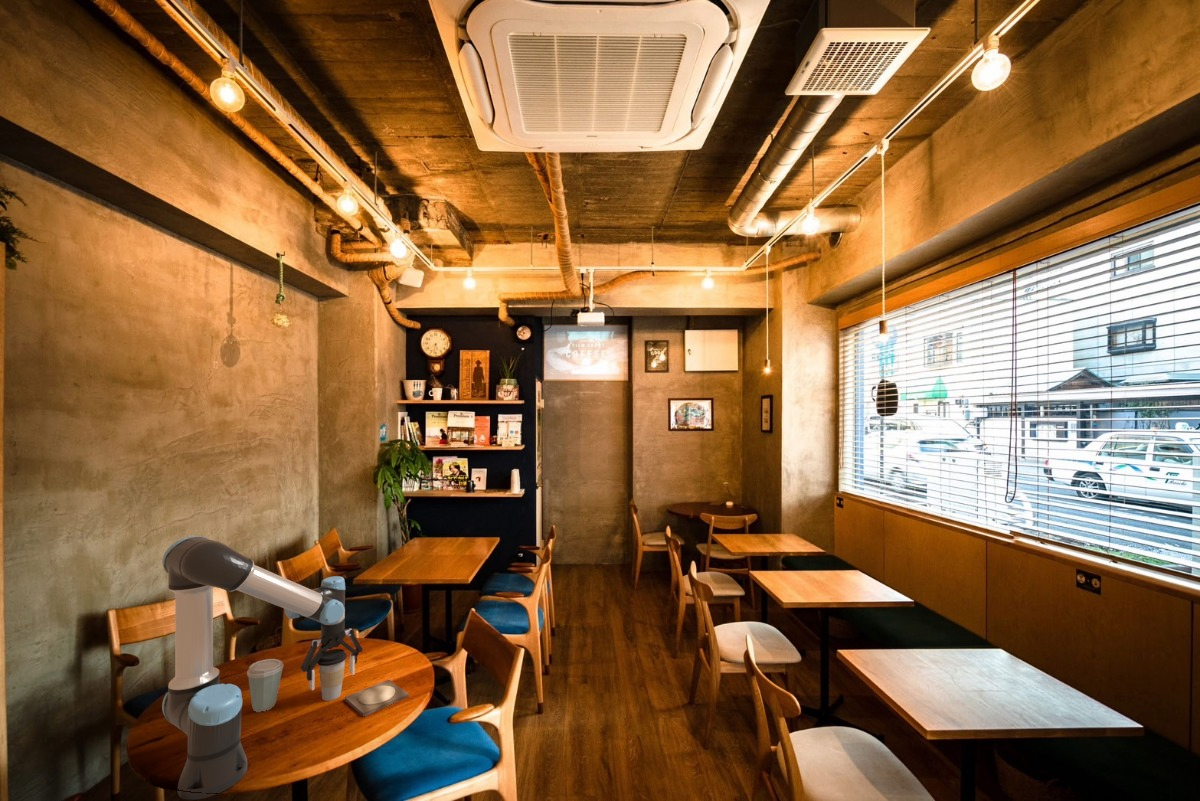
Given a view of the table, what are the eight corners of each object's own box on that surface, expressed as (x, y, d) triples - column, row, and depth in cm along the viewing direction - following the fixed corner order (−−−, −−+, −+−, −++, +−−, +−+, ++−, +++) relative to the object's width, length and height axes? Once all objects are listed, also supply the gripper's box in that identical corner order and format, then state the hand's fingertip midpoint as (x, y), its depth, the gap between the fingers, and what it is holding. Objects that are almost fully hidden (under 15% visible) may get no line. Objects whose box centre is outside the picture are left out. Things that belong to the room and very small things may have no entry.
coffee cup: (333, 705, 173) (334, 661, 174) (310, 702, 175) (311, 658, 176) (351, 690, 182) (352, 649, 183) (329, 688, 184) (330, 646, 185)
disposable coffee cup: (273, 695, 179) (274, 653, 180) (289, 704, 173) (290, 660, 174) (239, 710, 170) (241, 665, 171) (255, 720, 164) (256, 673, 165)
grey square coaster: (363, 717, 166) (363, 712, 166) (344, 700, 176) (344, 696, 176) (408, 697, 178) (408, 692, 178) (388, 682, 188) (388, 678, 188)
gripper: (298, 635, 168) (297, 699, 167) (372, 613, 187) (371, 670, 186) (290, 629, 173) (290, 691, 172) (363, 608, 192) (363, 664, 191)
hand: (332, 680), depth 179 cm, fingers open, 13 cm apart
